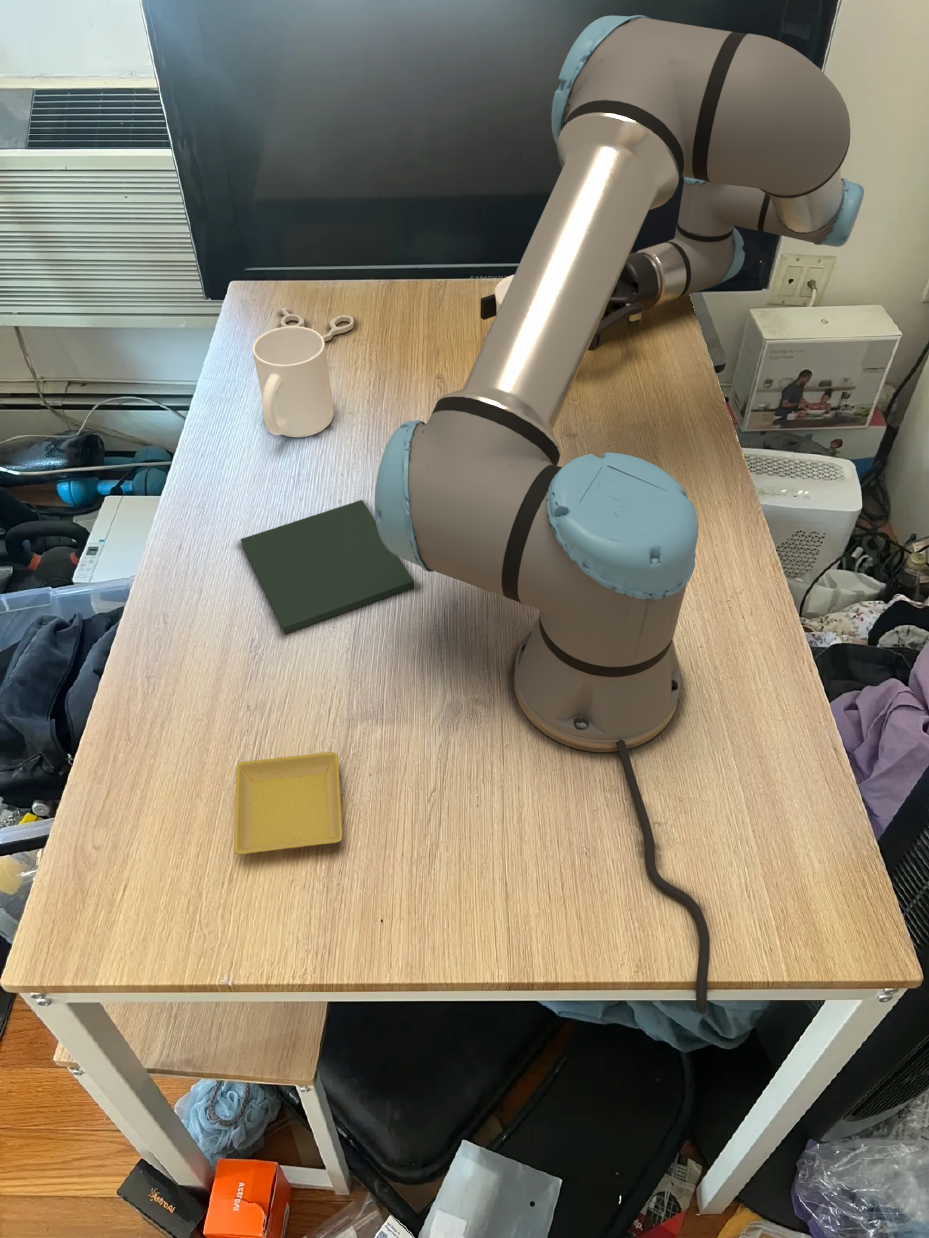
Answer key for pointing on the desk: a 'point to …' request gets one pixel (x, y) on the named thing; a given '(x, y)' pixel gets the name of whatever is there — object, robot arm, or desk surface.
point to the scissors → (332, 324)
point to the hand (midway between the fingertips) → (504, 328)
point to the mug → (293, 381)
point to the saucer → (287, 803)
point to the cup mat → (325, 566)
